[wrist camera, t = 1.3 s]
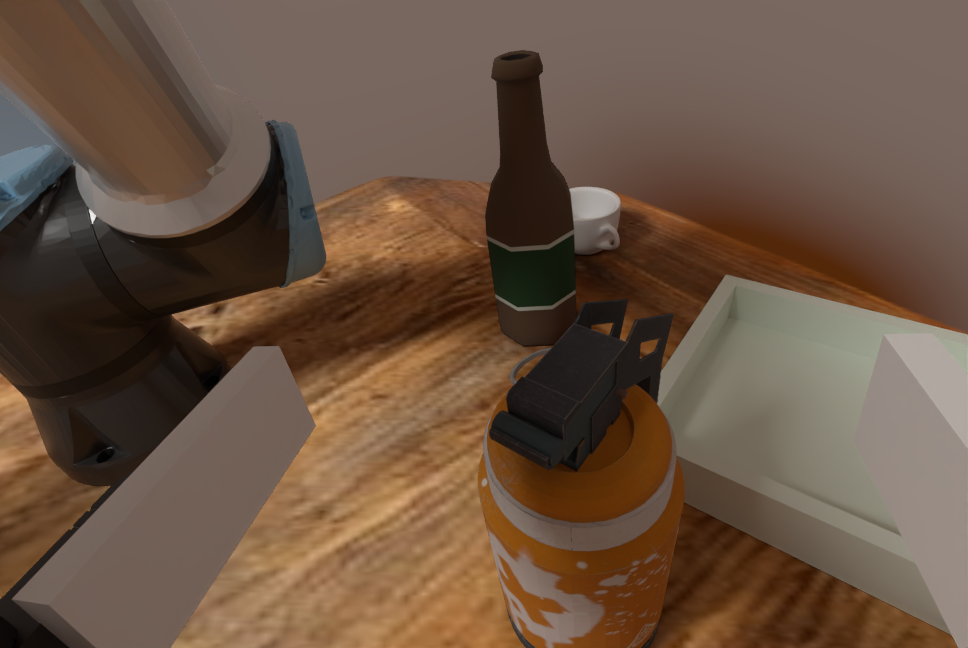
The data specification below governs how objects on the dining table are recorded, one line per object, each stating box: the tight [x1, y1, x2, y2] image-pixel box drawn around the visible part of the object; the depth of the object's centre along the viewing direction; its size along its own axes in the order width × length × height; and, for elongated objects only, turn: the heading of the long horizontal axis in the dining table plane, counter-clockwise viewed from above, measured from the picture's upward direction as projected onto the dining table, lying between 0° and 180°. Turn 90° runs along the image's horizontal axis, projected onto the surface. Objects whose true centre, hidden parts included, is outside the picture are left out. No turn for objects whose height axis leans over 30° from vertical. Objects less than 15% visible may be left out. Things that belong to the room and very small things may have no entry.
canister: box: [478, 299, 685, 648], centre depth 25 cm, size 9×11×20 cm
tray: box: [657, 275, 968, 635], centre depth 36 cm, size 20×20×4 cm
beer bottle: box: [485, 50, 576, 347], centre depth 43 cm, size 8×8×24 cm
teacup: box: [569, 187, 621, 255], centre depth 58 cm, size 10×8×5 cm
